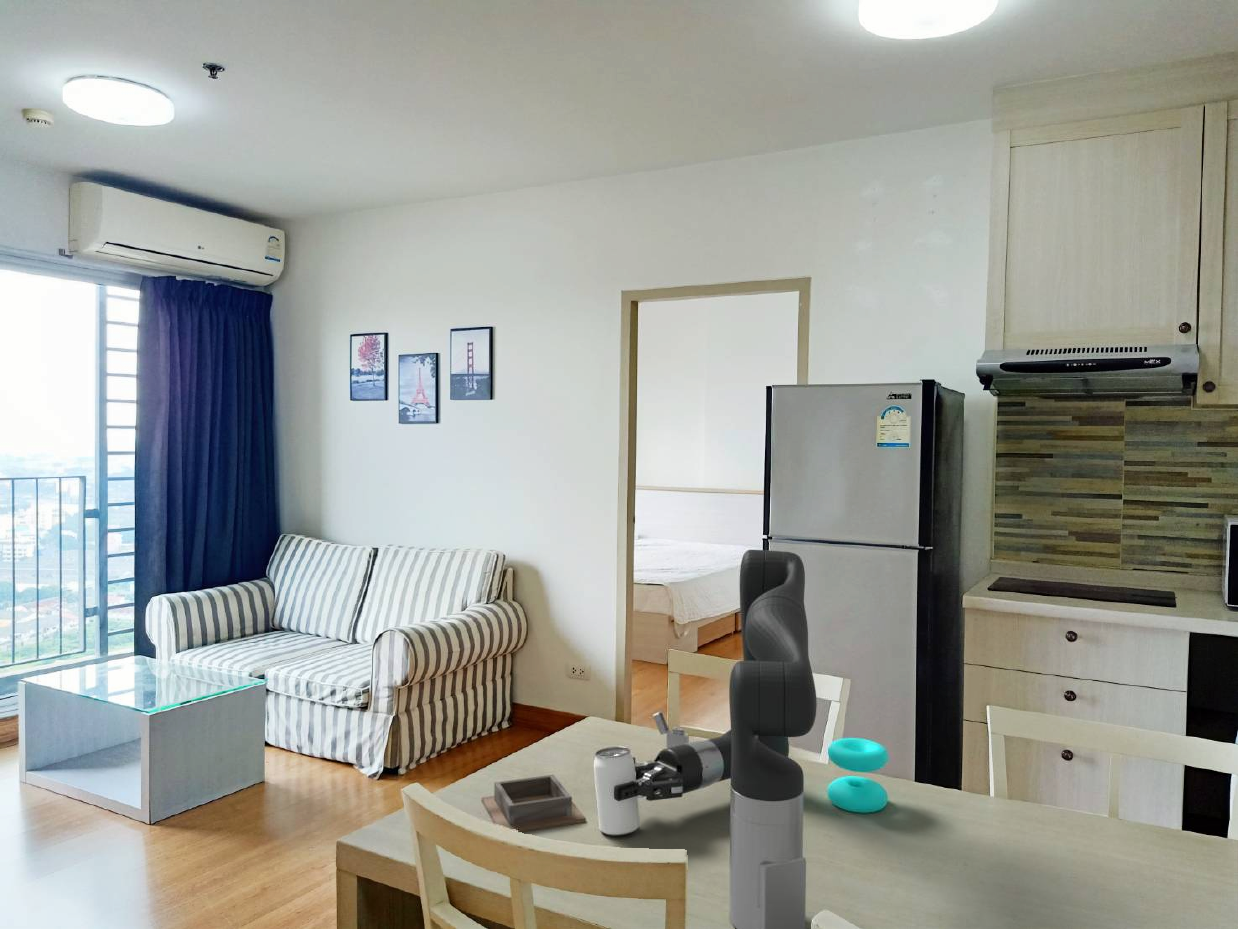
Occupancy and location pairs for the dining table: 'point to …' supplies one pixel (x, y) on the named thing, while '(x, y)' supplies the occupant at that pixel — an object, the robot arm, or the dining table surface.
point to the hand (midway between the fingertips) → (607, 789)
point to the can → (610, 772)
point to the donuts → (853, 789)
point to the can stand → (532, 804)
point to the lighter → (673, 736)
